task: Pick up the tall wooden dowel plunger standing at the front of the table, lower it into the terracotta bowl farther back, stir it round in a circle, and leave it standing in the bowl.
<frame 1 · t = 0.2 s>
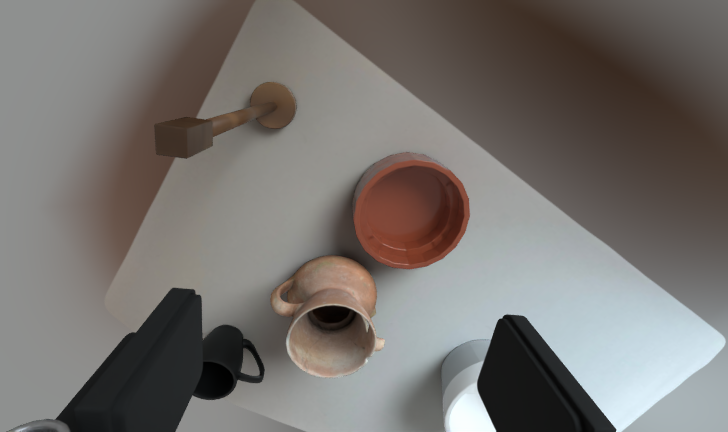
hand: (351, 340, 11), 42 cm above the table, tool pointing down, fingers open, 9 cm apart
mixing bowl: (404, 204, 54), on the table
ceramic jug: (330, 283, 59), on the table
wooden dowel plunger: (274, 105, 48), on the table
mug: (238, 338, 61), on the table
bowl: (475, 366, 68), on the table
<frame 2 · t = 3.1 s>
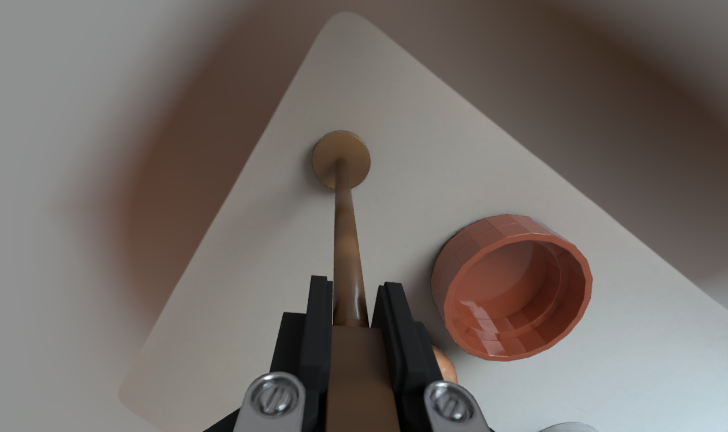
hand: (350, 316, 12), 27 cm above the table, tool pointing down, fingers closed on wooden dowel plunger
mixing bowl: (494, 274, 43), on the table
ceramic jug: (395, 366, 48), on the table
wooden dowel plunger: (341, 159, 36), on the table, touching gripper
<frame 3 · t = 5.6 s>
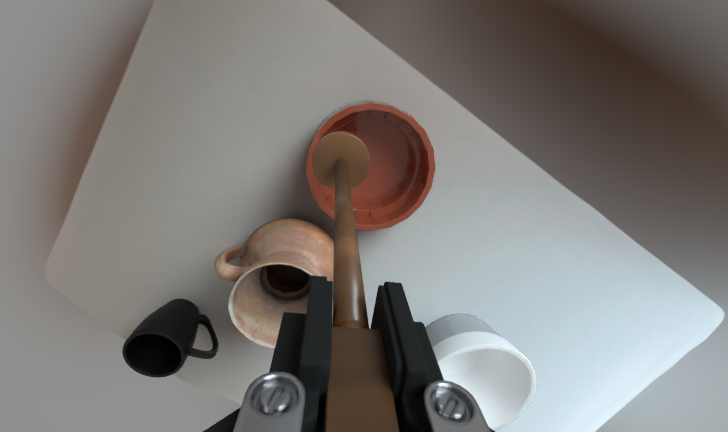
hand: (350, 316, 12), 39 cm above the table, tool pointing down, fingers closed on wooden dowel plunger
mixing bowl: (367, 161, 50), on the table
ceramic jug: (290, 252, 54), on the table
wooden dowel plunger: (341, 159, 36), point 13 cm above the table, touching gripper
mug: (194, 313, 57), on the table
bowl: (454, 344, 63), on the table
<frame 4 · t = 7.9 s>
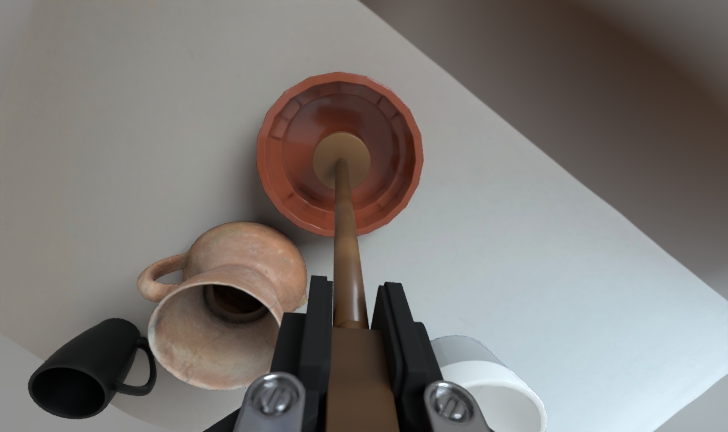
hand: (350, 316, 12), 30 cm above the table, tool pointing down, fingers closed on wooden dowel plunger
mixing bowl: (340, 151, 40), on the table
ceramic jug: (249, 262, 44), on the table
wooden dowel plunger: (341, 159, 36), point 4 cm above the table, touching gripper
mug: (134, 335, 47), on the table
bowl: (448, 370, 54), on the table
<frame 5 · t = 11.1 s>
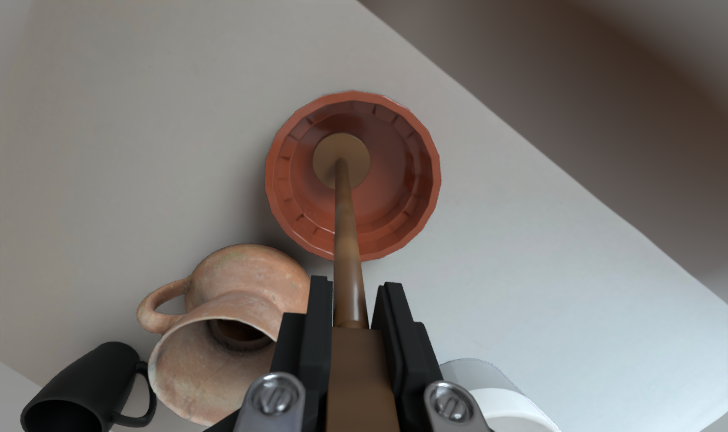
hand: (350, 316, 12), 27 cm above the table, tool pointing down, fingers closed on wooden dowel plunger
mixing bowl: (351, 170, 38), on the table
ceramic jug: (254, 284, 42), on the table
wooden dowel plunger: (341, 159, 36), point 1 cm above the table, touching gripper
mug: (134, 359, 45), on the table
bowl: (460, 393, 52), on the table
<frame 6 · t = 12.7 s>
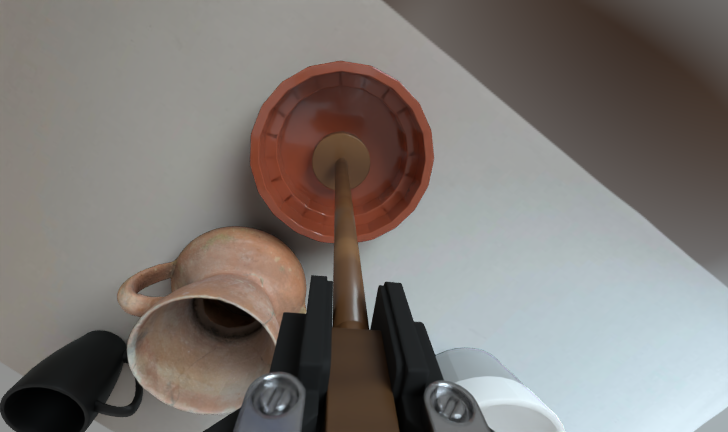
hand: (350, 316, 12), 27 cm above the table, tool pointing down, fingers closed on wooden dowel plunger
mixing bowl: (342, 150, 37), on the table
ceramic jug: (243, 270, 41), on the table
wooden dowel plunger: (341, 159, 36), point 1 cm above the table, touching gripper
mug: (121, 348, 44), on the table
bowl: (457, 384, 50), on the table
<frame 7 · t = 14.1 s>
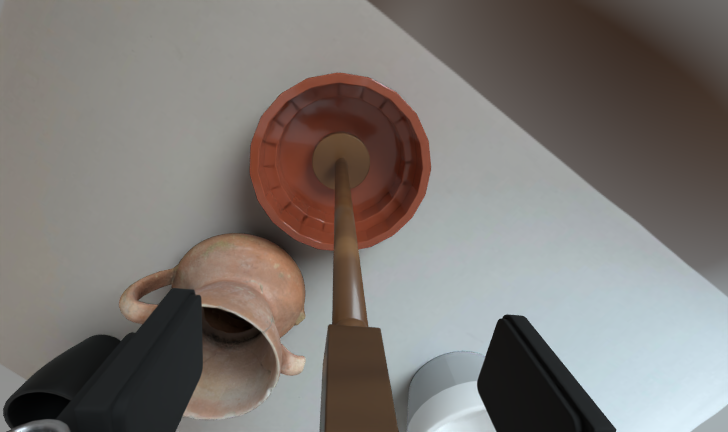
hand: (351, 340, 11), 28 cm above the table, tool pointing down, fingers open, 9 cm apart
mixing bowl: (341, 157, 37), on the table
ceramic jug: (243, 276, 42), on the table
wooden dowel plunger: (341, 159, 37), point 1 cm above the table, touching mixing bowl
mug: (122, 352, 44), on the table
bowl: (454, 387, 51), on the table
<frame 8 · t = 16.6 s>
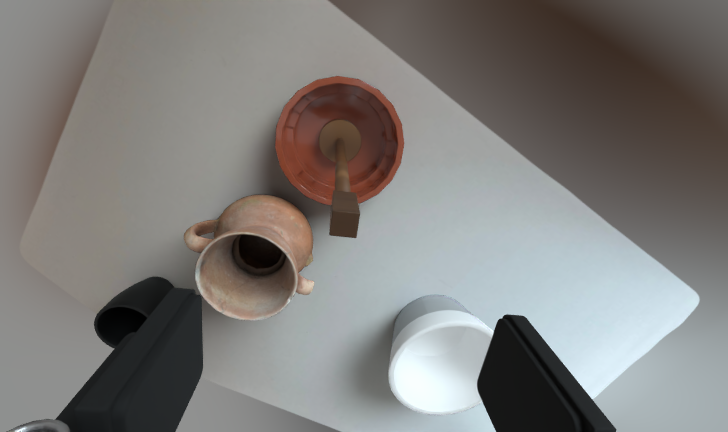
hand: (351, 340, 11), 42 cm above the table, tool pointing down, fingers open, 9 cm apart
mixing bowl: (340, 138, 50), on the table
ceramic jug: (265, 230, 55), on the table
wooden dowel plunger: (339, 140, 50), point 1 cm above the table, touching mixing bowl
mug: (170, 292, 57), on the table
bowl: (431, 326, 64), on the table
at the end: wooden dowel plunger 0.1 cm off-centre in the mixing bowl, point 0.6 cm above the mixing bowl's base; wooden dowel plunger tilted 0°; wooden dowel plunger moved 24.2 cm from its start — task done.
